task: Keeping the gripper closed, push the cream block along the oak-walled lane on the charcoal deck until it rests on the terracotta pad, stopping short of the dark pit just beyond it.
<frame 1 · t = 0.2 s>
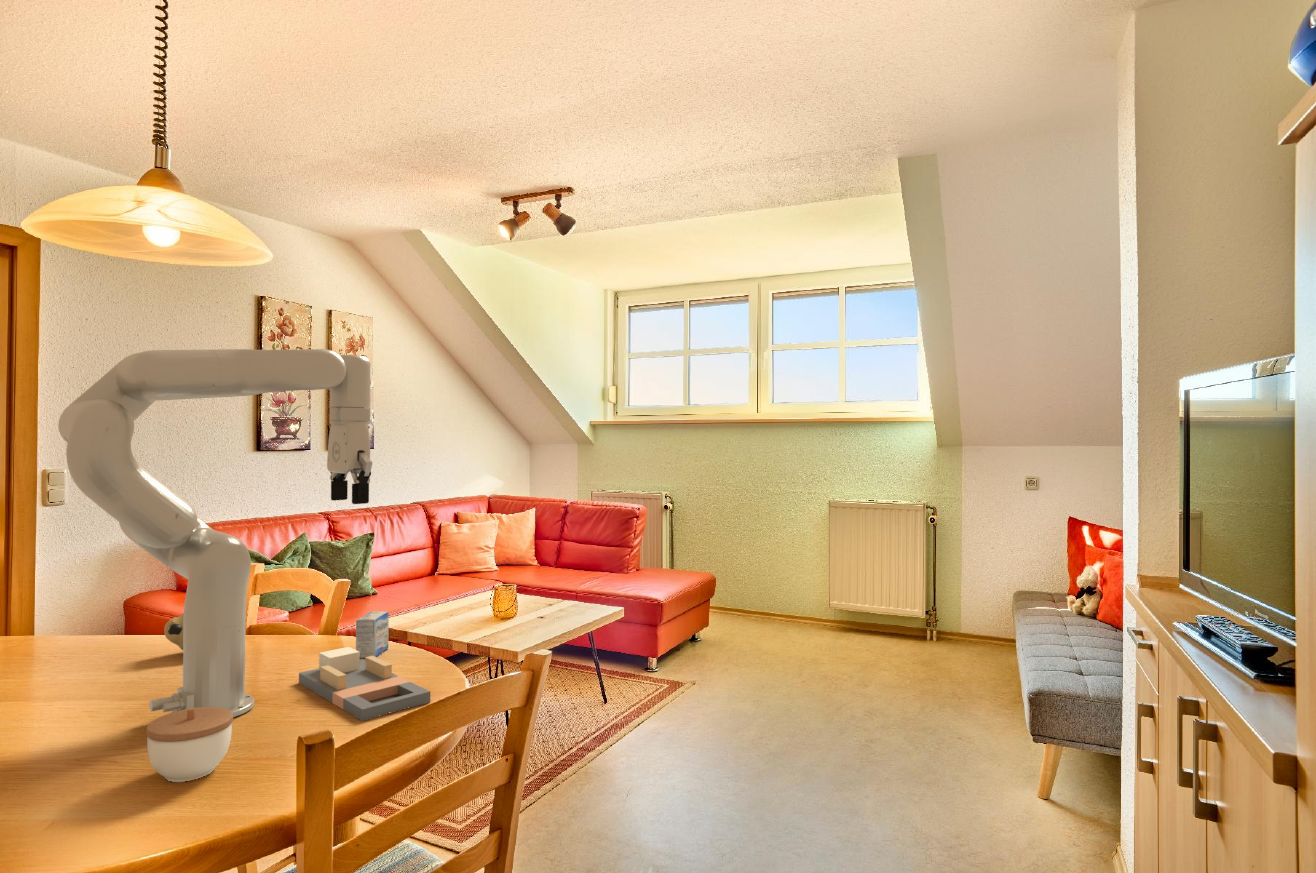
hand: (349, 501, 150), 36 cm above the table, tool pointing down, fingers open, 9 cm apart
lidded jar: (190, 774, 109), on the table
toy pig: (196, 654, 166), on the table
medicine box: (372, 654, 168), on the table
deck: (363, 692, 143), on the table
block: (339, 669, 150), point 2 cm above the table, touching deck
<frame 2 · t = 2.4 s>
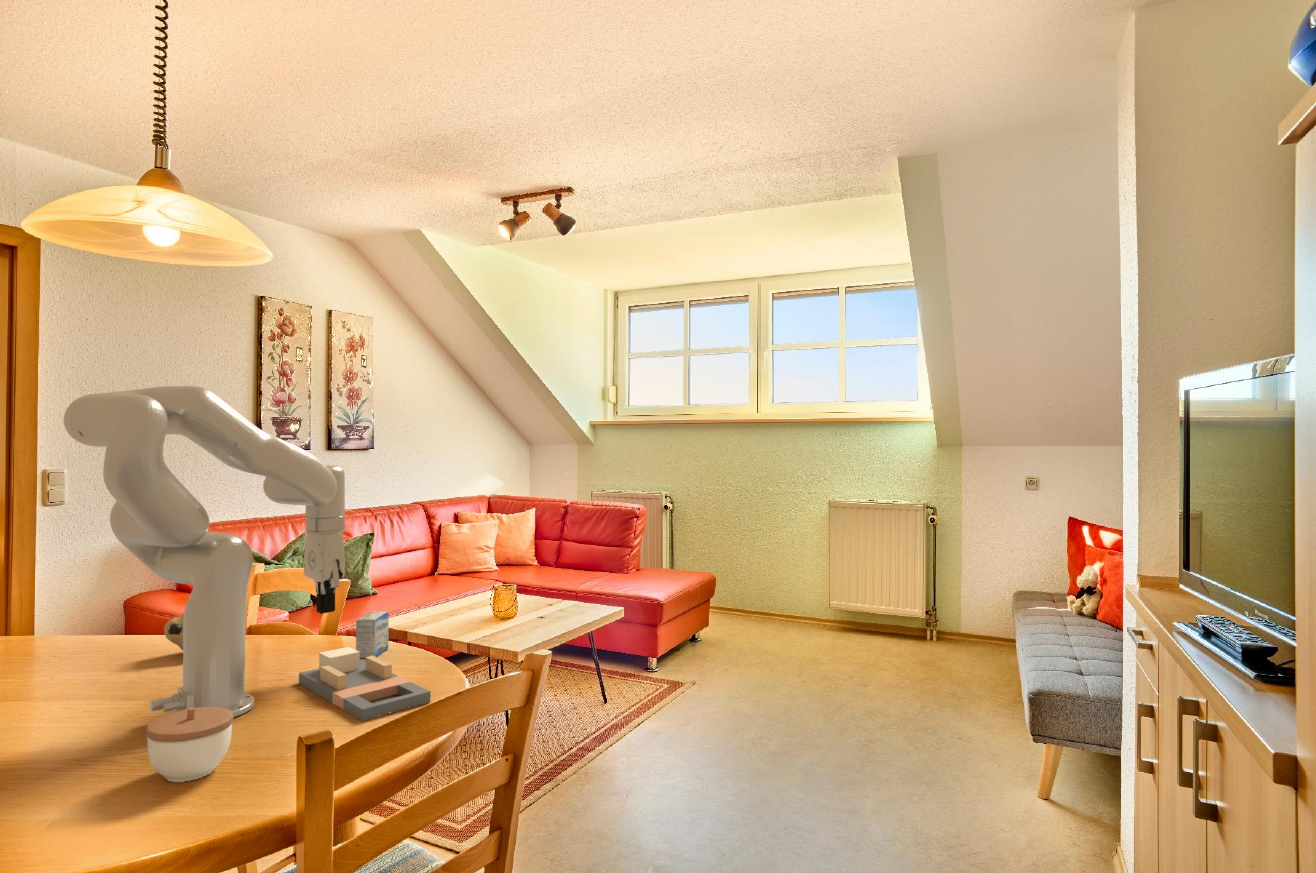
hand: (325, 611, 156), 12 cm above the table, tool pointing down, fingers closed
nothing on the table moved.
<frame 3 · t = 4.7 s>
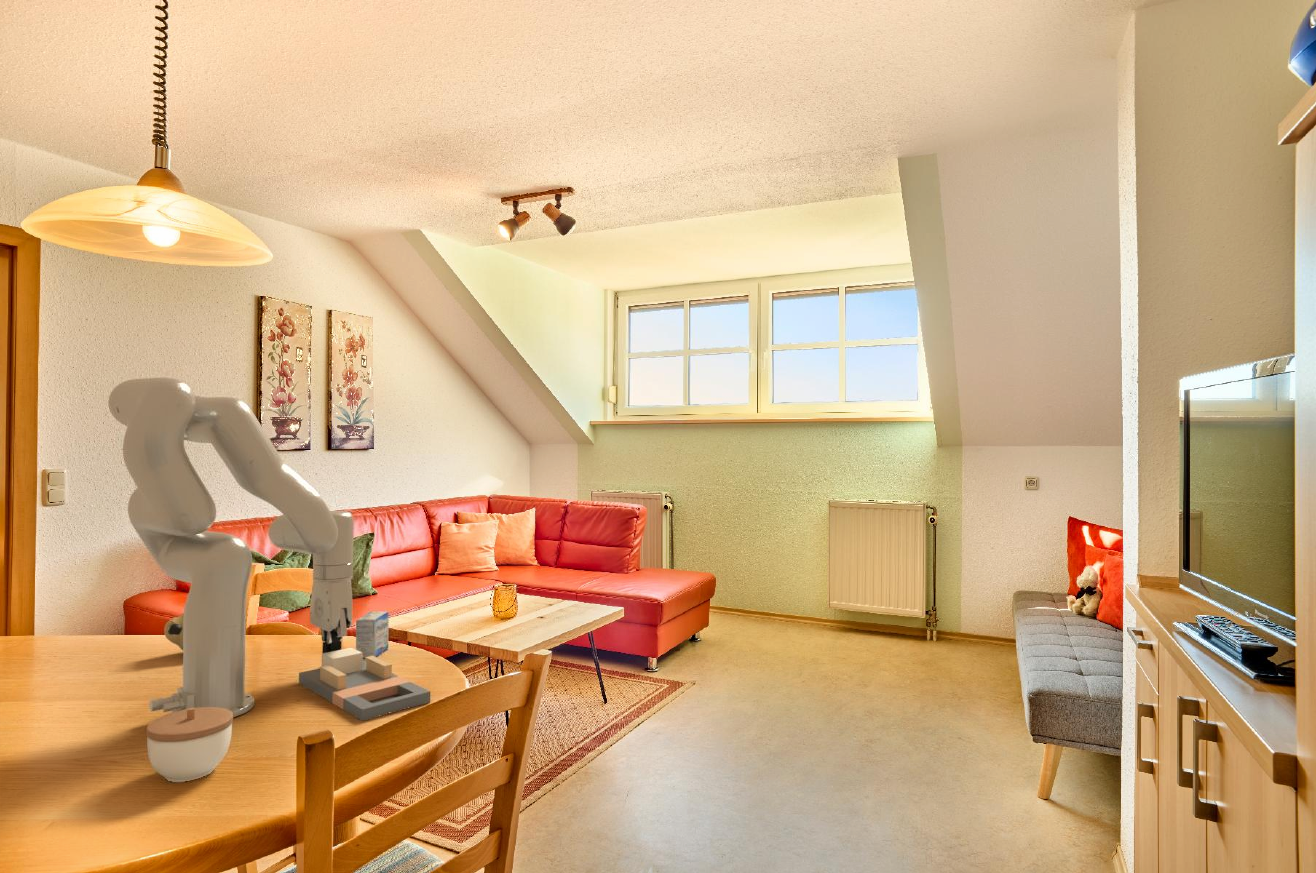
hand: (331, 660, 153), 3 cm above the table, tool pointing down, fingers closed
nothing on the table moved.
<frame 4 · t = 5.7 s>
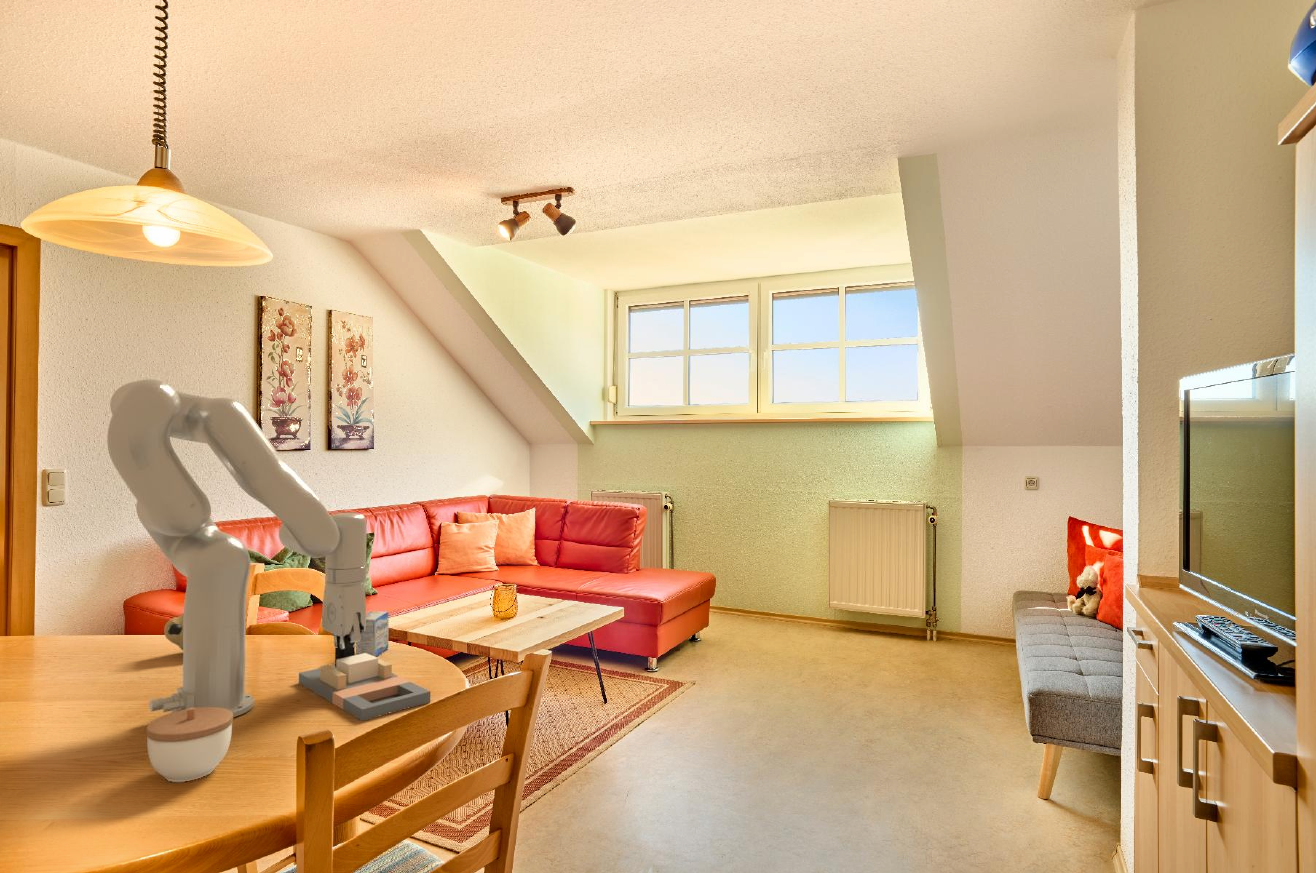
hand: (344, 666, 149), 3 cm above the table, tool pointing down, fingers closed
block: (357, 676, 146), point 2 cm above the table, touching deck, gripper
everything else where it was.
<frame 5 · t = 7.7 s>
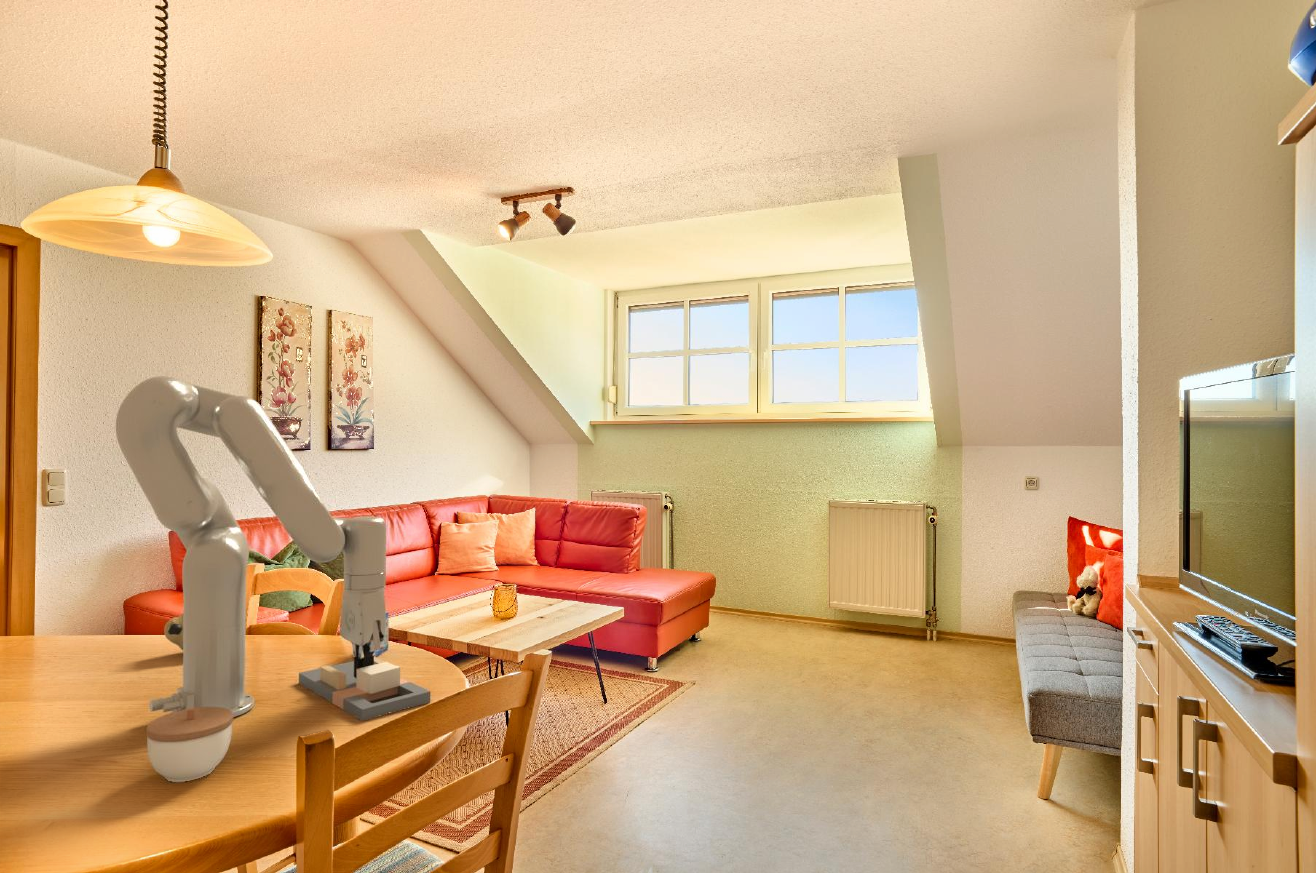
hand: (363, 676, 143), 3 cm above the table, tool pointing down, fingers closed
block: (378, 686, 141), point 2 cm above the table, touching deck, gripper
everything else where it was.
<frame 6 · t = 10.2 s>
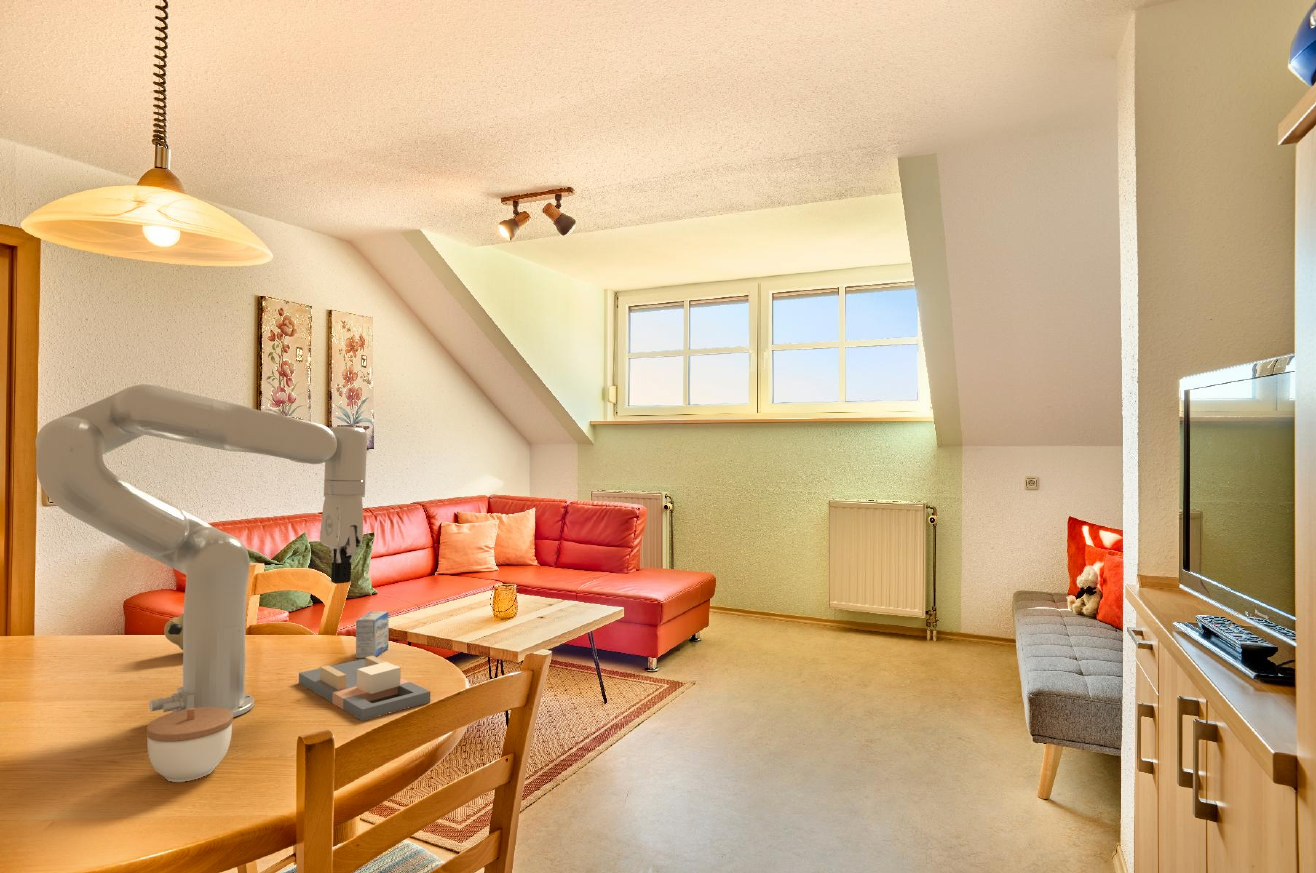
hand: (340, 582, 147), 20 cm above the table, tool pointing down, fingers closed
block: (378, 686, 141), point 2 cm above the table, touching deck
everything else where it was.
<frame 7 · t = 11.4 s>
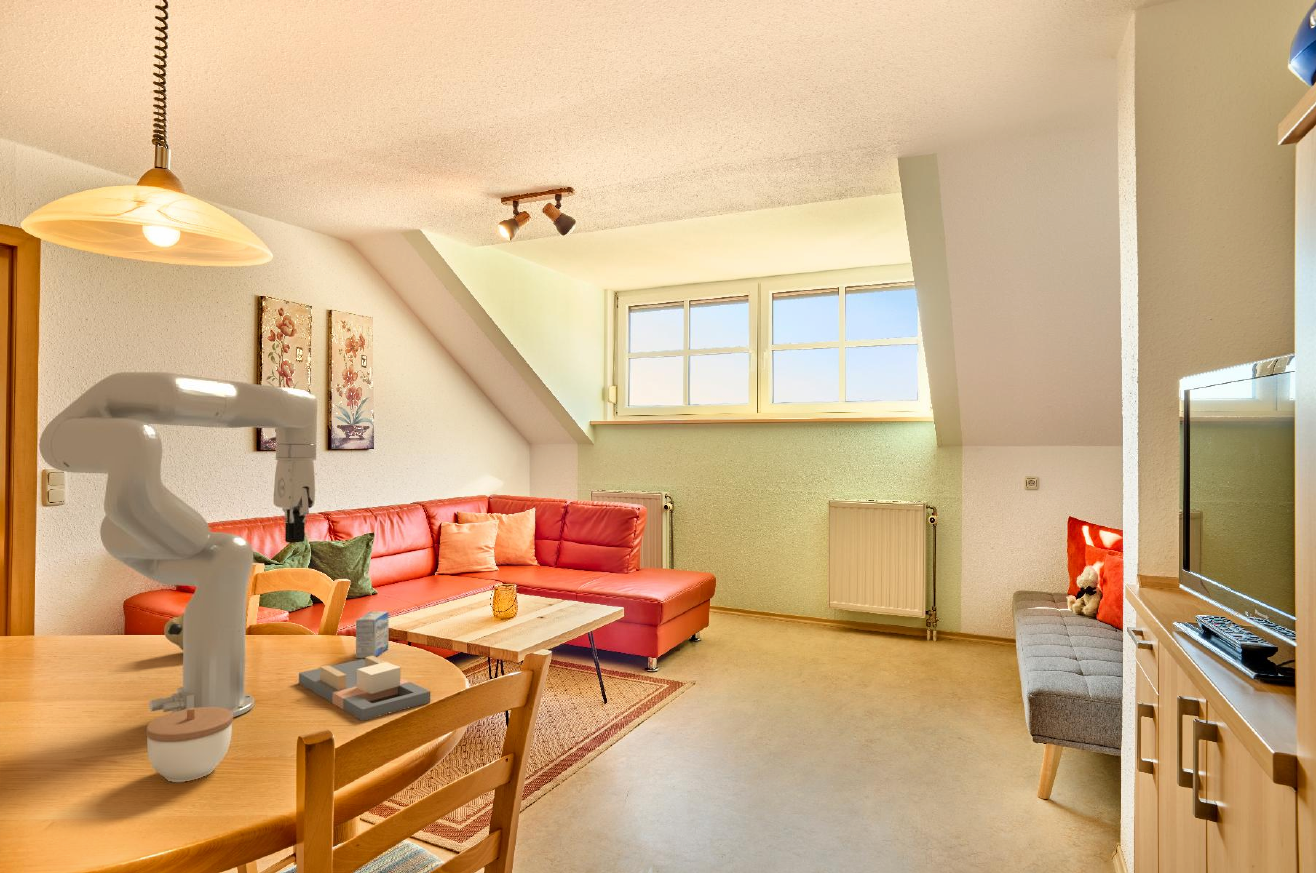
hand: (294, 541, 154), 27 cm above the table, tool pointing down, fingers closed
nothing on the table moved.
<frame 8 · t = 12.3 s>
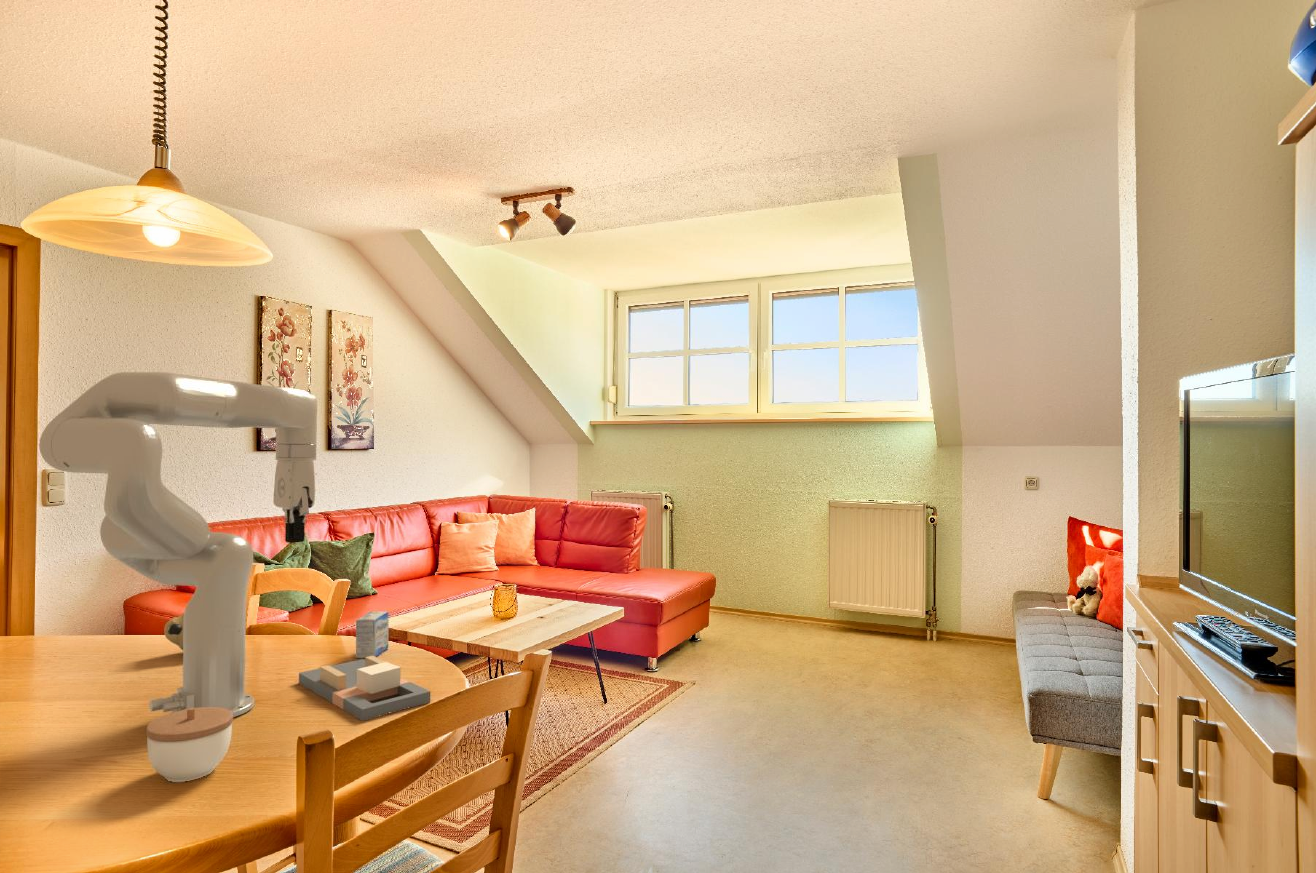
hand: (294, 541, 154), 27 cm above the table, tool pointing down, fingers closed
nothing on the table moved.
at the end: block 0.9 cm from the target spot on the deck, point 2.0 cm above the deck's base; block tilted 0° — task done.
